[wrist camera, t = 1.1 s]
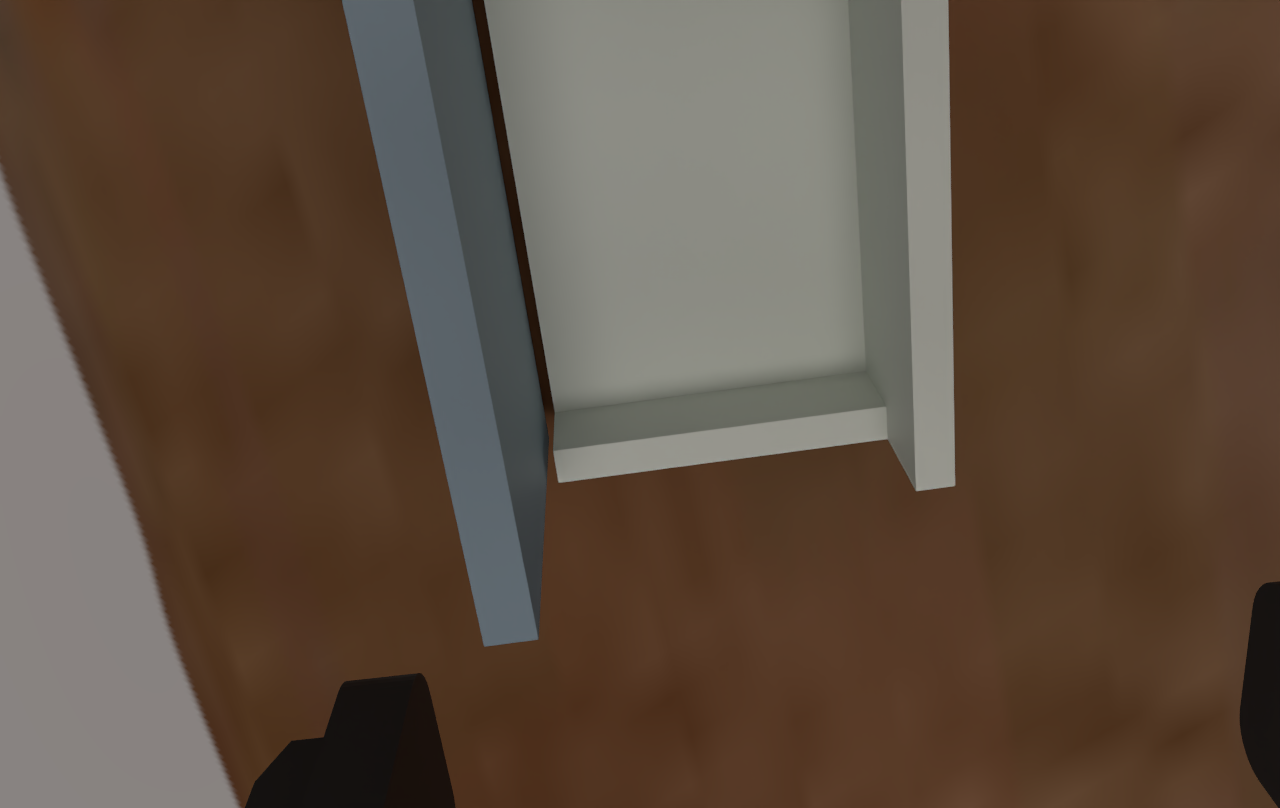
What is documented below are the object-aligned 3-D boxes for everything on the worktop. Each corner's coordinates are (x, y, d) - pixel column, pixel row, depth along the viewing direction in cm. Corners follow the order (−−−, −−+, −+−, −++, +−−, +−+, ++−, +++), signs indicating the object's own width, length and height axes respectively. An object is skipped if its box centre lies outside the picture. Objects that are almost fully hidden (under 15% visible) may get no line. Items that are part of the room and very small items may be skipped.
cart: (864, -253, 29) (944, -286, 23) (888, 377, 36) (954, 485, 30) (455, -196, 29) (421, -214, 23) (560, 421, 36) (556, 538, 30)
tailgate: (449, -137, 29) (386, -140, 19) (549, 430, 35) (538, 639, 26) (401, -131, 29) (313, -130, 19) (509, 435, 35) (484, 646, 26)
